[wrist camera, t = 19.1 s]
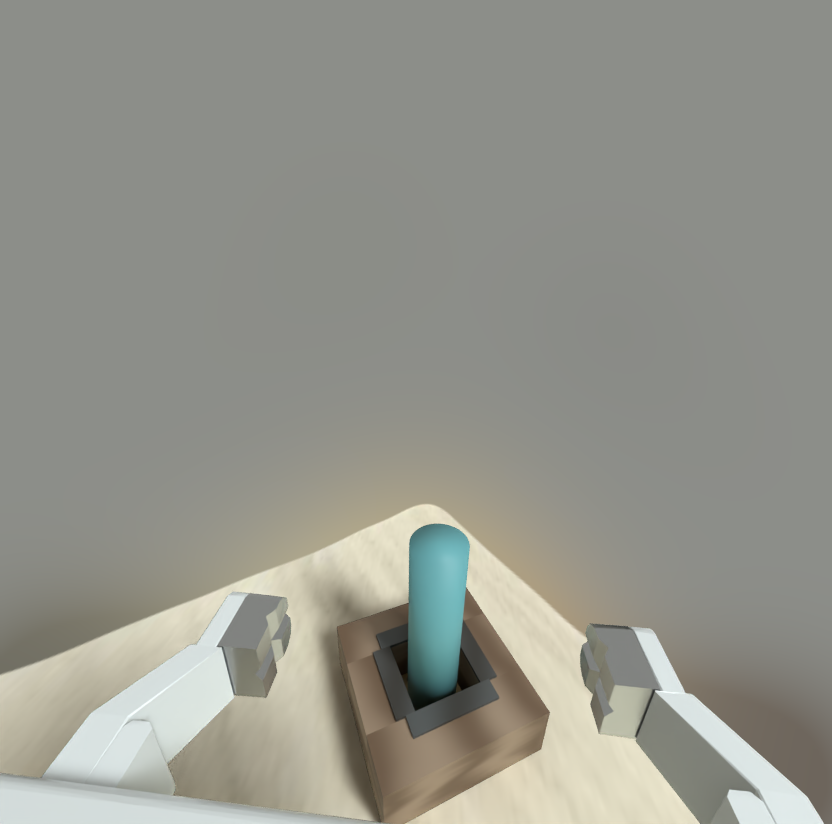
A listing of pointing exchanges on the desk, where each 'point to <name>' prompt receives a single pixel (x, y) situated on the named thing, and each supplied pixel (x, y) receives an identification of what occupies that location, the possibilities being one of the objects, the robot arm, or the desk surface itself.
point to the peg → (435, 611)
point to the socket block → (436, 713)
